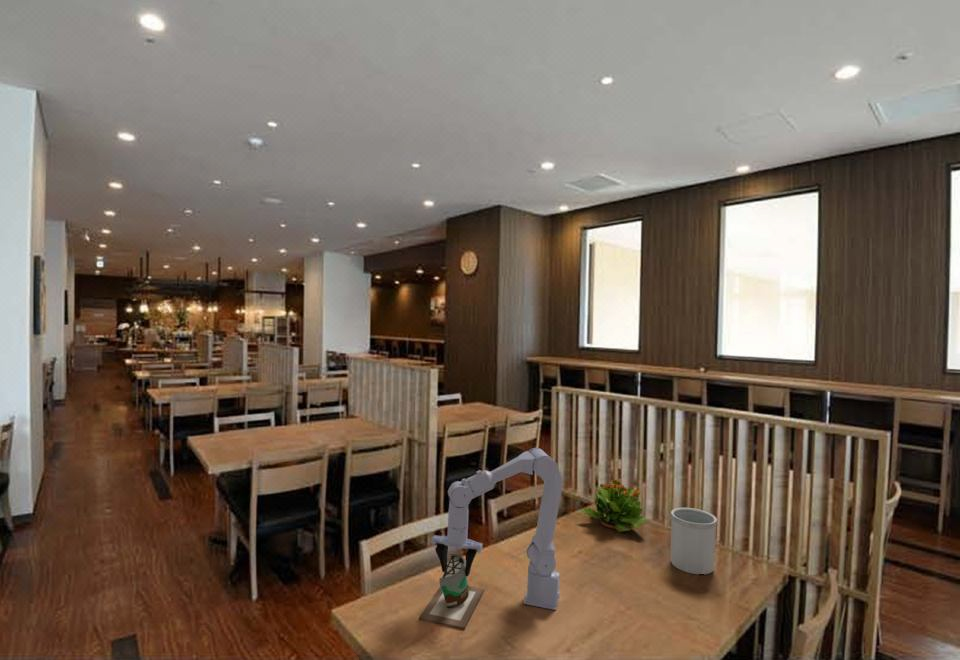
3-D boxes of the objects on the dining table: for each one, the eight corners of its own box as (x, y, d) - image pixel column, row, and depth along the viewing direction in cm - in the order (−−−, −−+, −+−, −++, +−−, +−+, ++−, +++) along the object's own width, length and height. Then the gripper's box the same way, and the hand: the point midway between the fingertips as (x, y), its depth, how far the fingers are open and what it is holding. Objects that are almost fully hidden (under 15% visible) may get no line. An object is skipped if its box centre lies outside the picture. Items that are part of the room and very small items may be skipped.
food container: (466, 611, 137) (459, 579, 136) (445, 612, 139) (438, 579, 137) (477, 581, 149) (470, 551, 148) (457, 582, 151) (451, 552, 149)
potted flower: (581, 531, 197) (583, 487, 197) (579, 509, 221) (581, 470, 220) (647, 539, 193) (649, 494, 193) (638, 515, 217) (640, 475, 216)
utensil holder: (667, 569, 170) (670, 518, 169) (668, 551, 183) (671, 504, 183) (715, 580, 164) (718, 527, 164) (713, 560, 178) (715, 511, 177)
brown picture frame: (484, 591, 151) (484, 589, 151) (464, 629, 132) (464, 627, 132) (443, 583, 155) (443, 581, 155) (418, 619, 135) (418, 617, 135)
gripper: (429, 526, 141) (426, 574, 141) (478, 535, 137) (476, 584, 137) (437, 517, 147) (435, 563, 148) (485, 525, 144) (483, 571, 144)
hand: (455, 572), depth 143 cm, fingers closed on food container, 6 cm apart
